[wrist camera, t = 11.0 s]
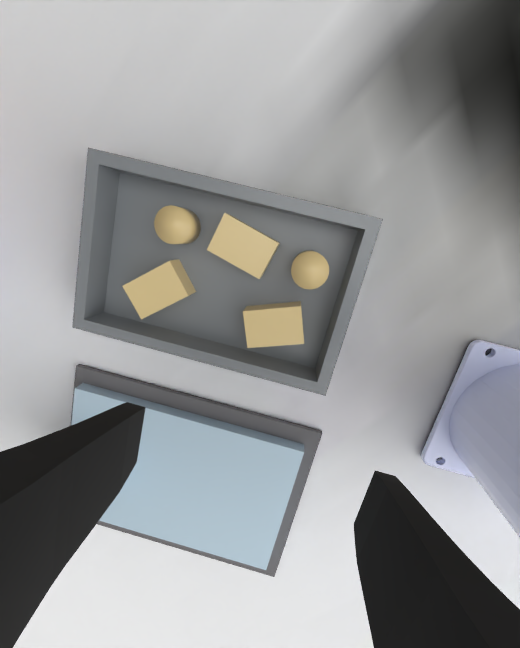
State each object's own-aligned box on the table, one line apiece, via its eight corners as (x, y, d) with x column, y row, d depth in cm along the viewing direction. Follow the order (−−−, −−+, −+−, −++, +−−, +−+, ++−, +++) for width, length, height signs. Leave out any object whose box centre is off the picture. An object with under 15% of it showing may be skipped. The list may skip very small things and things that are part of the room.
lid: (304, 444, 20) (305, 503, 16) (267, 559, 23) (259, 639, 18) (82, 382, 21) (22, 422, 16) (70, 501, 24) (15, 564, 19)
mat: (321, 430, 20) (321, 433, 20) (274, 572, 24) (274, 576, 23) (79, 364, 21) (76, 365, 21) (65, 510, 24) (62, 513, 24)
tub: (370, 222, 17) (382, 218, 15) (321, 376, 19) (325, 395, 17) (116, 160, 18) (88, 147, 15) (99, 316, 20) (72, 327, 18)
